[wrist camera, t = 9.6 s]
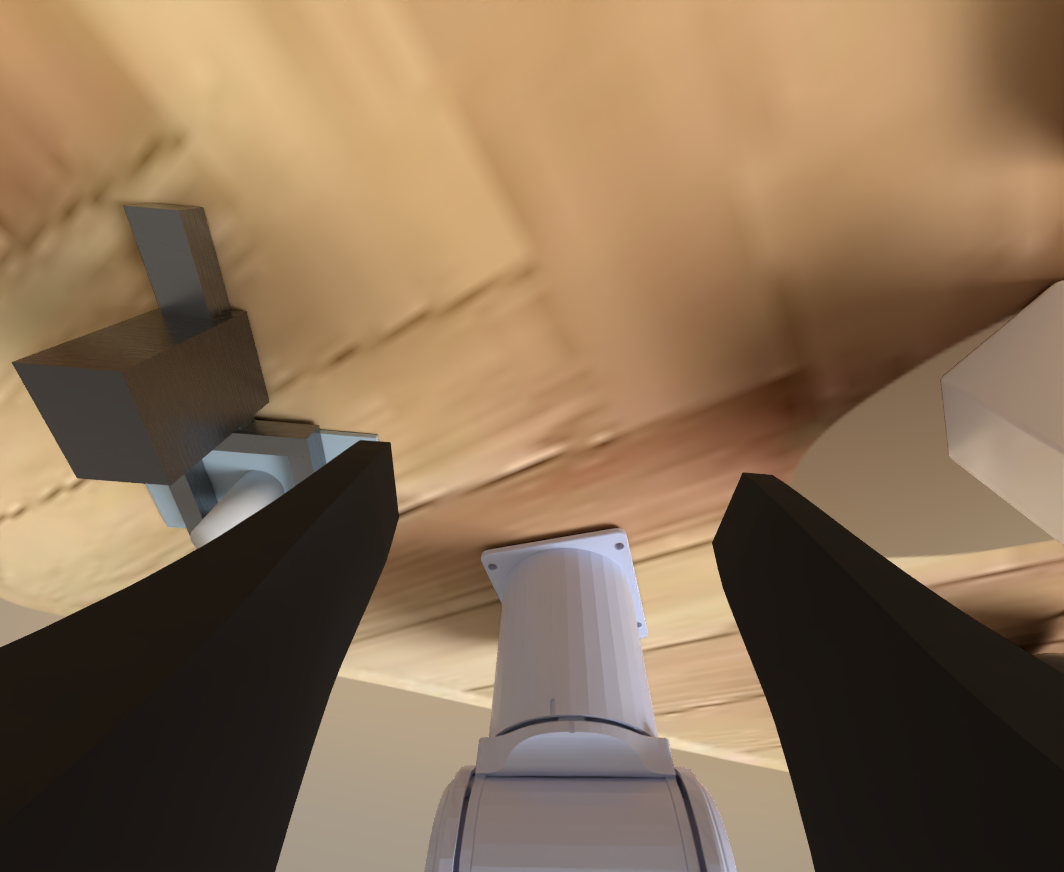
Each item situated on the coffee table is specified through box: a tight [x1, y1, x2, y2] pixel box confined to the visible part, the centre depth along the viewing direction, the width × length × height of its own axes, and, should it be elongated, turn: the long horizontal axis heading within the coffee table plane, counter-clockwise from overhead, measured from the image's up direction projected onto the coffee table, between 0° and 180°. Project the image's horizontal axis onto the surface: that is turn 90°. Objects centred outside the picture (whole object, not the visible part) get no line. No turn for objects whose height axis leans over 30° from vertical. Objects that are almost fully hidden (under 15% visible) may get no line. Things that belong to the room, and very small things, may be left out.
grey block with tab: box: [12, 203, 326, 535], centre depth 17 cm, size 16×7×6 cm, turn 175°
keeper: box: [146, 430, 379, 549], centre depth 21 cm, size 7×12×4 cm, turn 85°
